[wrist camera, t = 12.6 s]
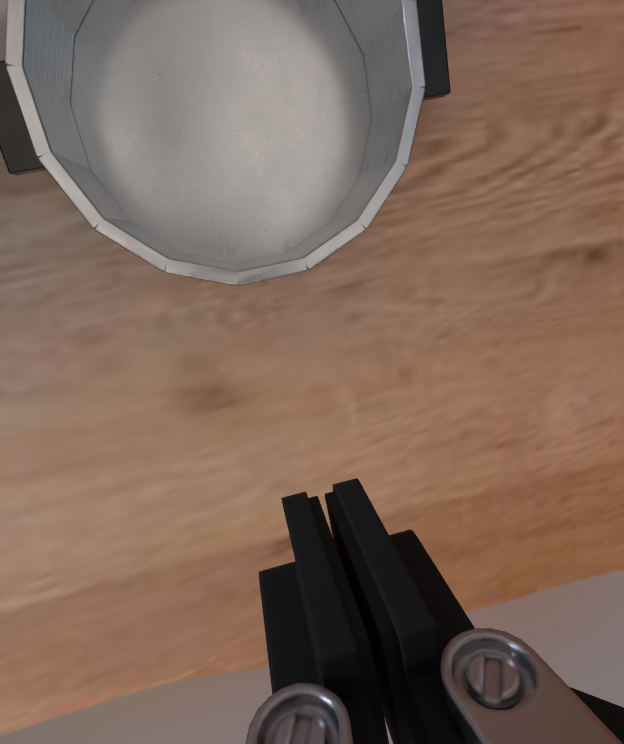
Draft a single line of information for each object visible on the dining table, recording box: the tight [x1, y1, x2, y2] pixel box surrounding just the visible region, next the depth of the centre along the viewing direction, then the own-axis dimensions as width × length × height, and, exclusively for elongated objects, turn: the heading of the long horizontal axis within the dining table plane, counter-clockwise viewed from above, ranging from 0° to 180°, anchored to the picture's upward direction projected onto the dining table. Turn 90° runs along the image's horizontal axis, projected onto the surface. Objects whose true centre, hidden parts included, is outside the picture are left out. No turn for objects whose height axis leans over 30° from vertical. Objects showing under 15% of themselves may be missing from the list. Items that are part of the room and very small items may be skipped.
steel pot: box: [0, 0, 450, 286], centre depth 21 cm, size 15×18×6 cm
